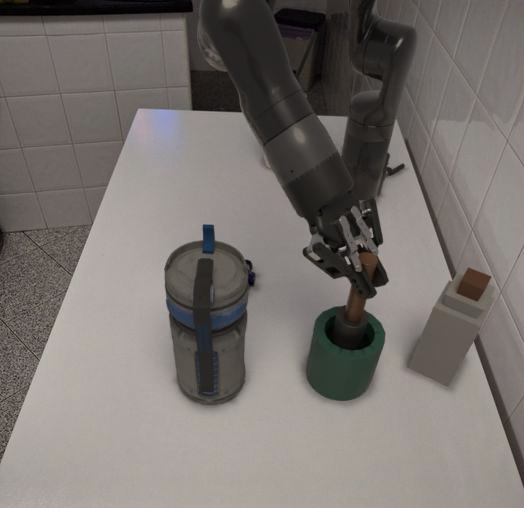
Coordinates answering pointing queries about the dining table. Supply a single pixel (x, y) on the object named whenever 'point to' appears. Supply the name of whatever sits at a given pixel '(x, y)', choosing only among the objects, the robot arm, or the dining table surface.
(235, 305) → the beverage bottle
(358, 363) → the green tube segment
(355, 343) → the pestle
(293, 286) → the dining table surface
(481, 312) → the perfume bottle
